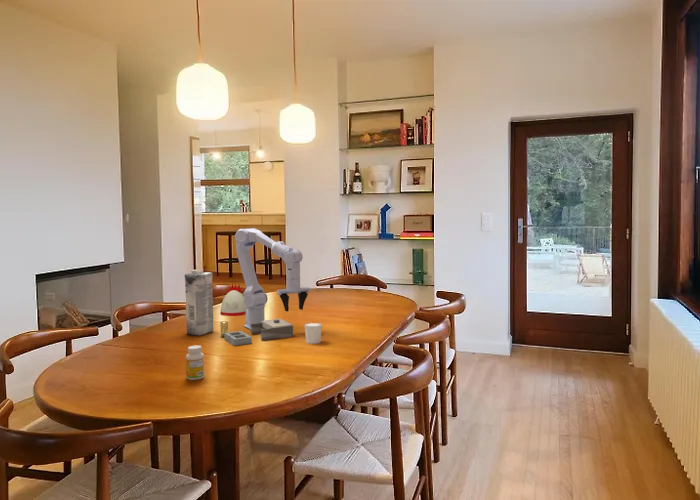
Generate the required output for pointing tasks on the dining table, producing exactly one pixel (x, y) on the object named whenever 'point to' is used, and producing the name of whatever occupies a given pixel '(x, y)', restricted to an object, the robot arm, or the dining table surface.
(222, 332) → the pin
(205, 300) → the juice carton
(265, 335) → the housing
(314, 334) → the white cup
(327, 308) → the dining table surface
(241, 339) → the socket board
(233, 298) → the kitchen timer
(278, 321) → the lid
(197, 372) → the supplement bottle
